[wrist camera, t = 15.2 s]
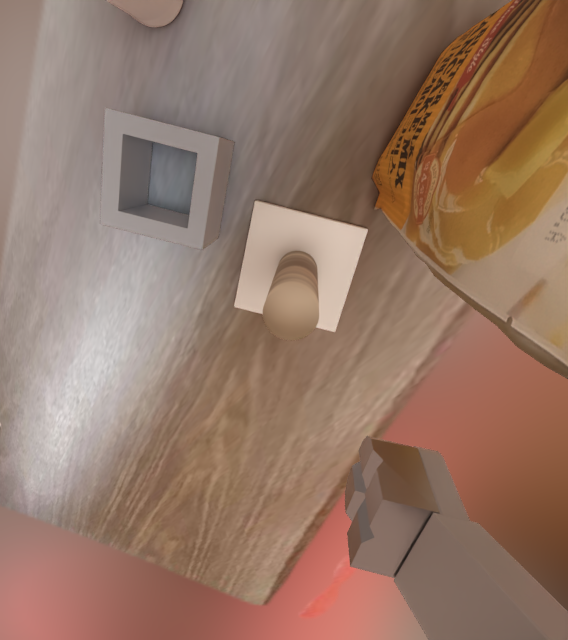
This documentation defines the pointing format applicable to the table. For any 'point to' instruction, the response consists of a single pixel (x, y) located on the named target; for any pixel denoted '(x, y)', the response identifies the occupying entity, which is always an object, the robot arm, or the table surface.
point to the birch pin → (293, 297)
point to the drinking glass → (150, 10)
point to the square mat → (299, 235)
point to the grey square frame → (134, 174)
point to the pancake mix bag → (492, 174)
